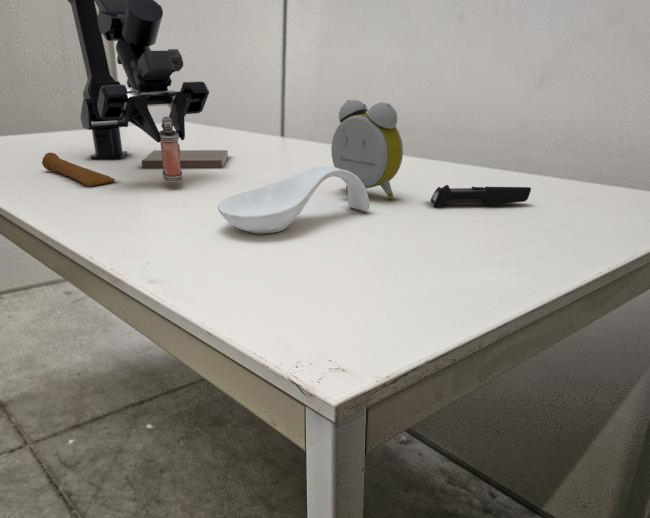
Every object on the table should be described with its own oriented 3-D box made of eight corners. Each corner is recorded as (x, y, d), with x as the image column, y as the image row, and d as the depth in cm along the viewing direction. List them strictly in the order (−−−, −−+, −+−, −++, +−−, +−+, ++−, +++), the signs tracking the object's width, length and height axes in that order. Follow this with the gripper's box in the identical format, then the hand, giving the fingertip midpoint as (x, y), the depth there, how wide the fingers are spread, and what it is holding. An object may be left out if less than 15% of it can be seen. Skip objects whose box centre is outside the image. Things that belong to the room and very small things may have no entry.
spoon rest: (247, 246, 78) (244, 190, 75) (204, 225, 87) (200, 174, 84) (385, 217, 91) (387, 168, 88) (336, 201, 100) (336, 156, 97)
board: (154, 157, 135) (153, 150, 134) (228, 157, 136) (227, 150, 135) (142, 168, 124) (141, 160, 123) (222, 167, 125) (221, 160, 124)
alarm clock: (402, 198, 102) (408, 102, 95) (376, 206, 97) (380, 105, 91) (349, 187, 109) (351, 97, 103) (322, 194, 105) (323, 100, 98)
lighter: (184, 181, 107) (178, 121, 102) (164, 182, 106) (157, 121, 101) (180, 171, 113) (175, 115, 109) (161, 172, 113) (155, 115, 108)
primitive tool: (116, 182, 112) (113, 162, 110) (89, 187, 108) (85, 167, 107) (59, 169, 123) (56, 150, 121) (33, 173, 119) (29, 155, 118)
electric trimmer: (531, 209, 97) (535, 189, 96) (434, 207, 96) (435, 187, 95) (524, 203, 100) (527, 183, 99) (429, 202, 100) (431, 182, 99)
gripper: (91, 31, 97) (125, 112, 94) (200, 31, 107) (233, 105, 104) (85, 80, 106) (115, 156, 103) (185, 77, 116) (215, 145, 113)
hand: (171, 139), depth 106 cm, fingers closed on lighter, 4 cm apart
